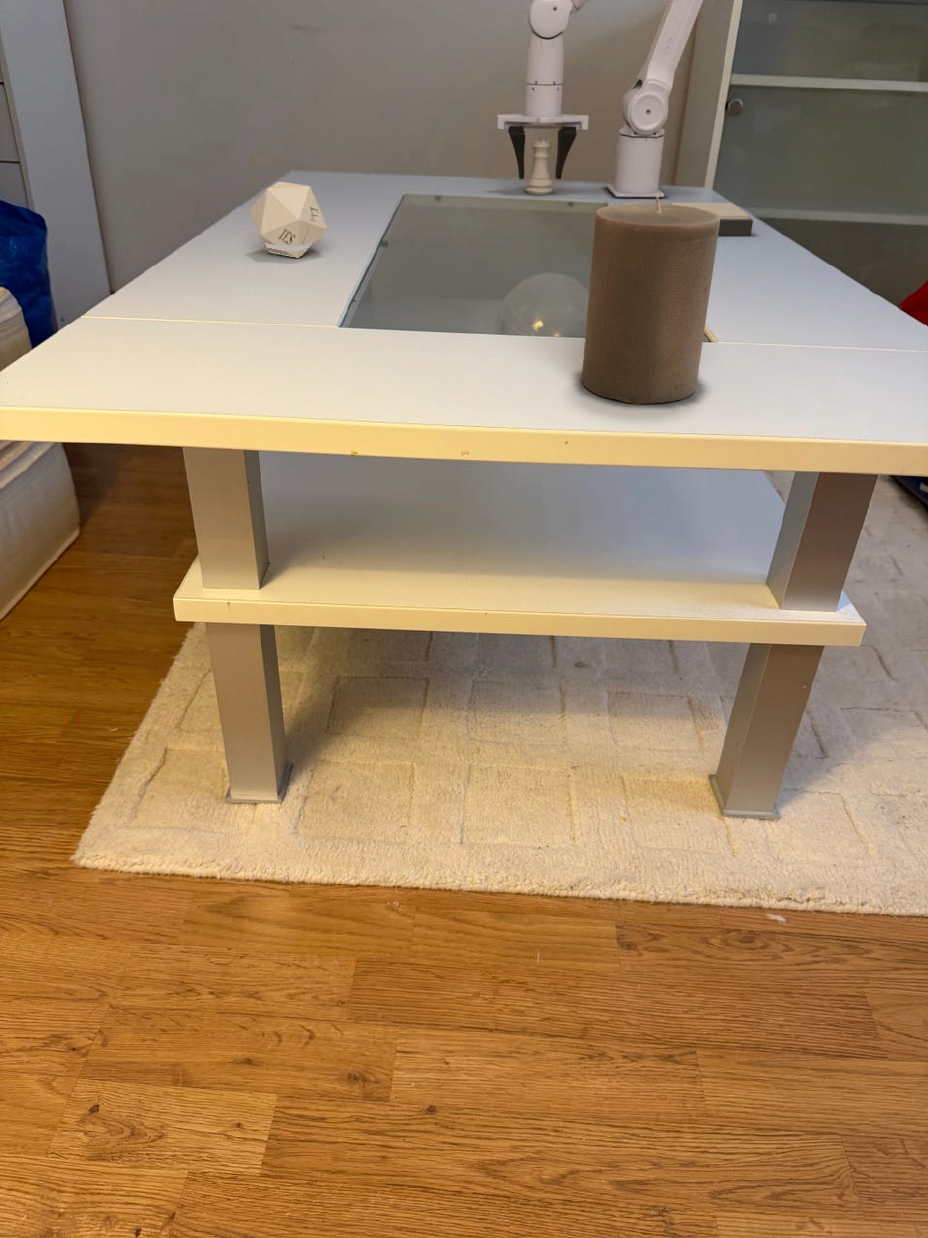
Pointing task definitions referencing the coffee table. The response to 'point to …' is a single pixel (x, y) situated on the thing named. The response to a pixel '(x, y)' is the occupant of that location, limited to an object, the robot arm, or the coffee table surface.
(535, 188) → the rook chess piece
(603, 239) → the pillar candle
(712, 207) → the scale
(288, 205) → the die
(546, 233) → the coffee table surface
